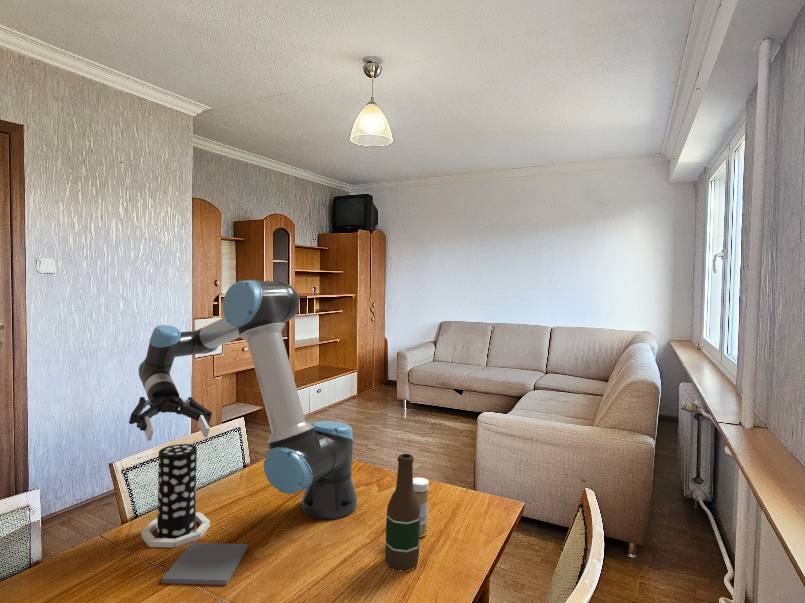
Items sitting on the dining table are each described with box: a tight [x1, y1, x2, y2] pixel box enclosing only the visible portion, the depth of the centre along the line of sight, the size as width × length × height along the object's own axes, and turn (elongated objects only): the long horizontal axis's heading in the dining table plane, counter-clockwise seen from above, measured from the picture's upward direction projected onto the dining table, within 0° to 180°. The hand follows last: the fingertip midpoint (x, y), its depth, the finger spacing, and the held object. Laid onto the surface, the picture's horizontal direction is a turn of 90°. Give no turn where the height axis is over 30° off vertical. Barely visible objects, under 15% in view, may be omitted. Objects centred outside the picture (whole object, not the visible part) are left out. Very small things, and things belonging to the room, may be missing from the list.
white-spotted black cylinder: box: [156, 443, 198, 539], centre depth 112 cm, size 8×8×20 cm
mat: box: [161, 542, 249, 586], centre depth 99 cm, size 13×13×1 cm
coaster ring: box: [140, 511, 211, 549], centre depth 112 cm, size 14×14×1 cm
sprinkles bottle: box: [413, 477, 430, 536], centre depth 114 cm, size 5×5×14 cm
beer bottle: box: [384, 453, 421, 572], centre depth 102 cm, size 8×8×24 cm
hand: (180, 434), depth 117 cm, fingers open, 13 cm apart
